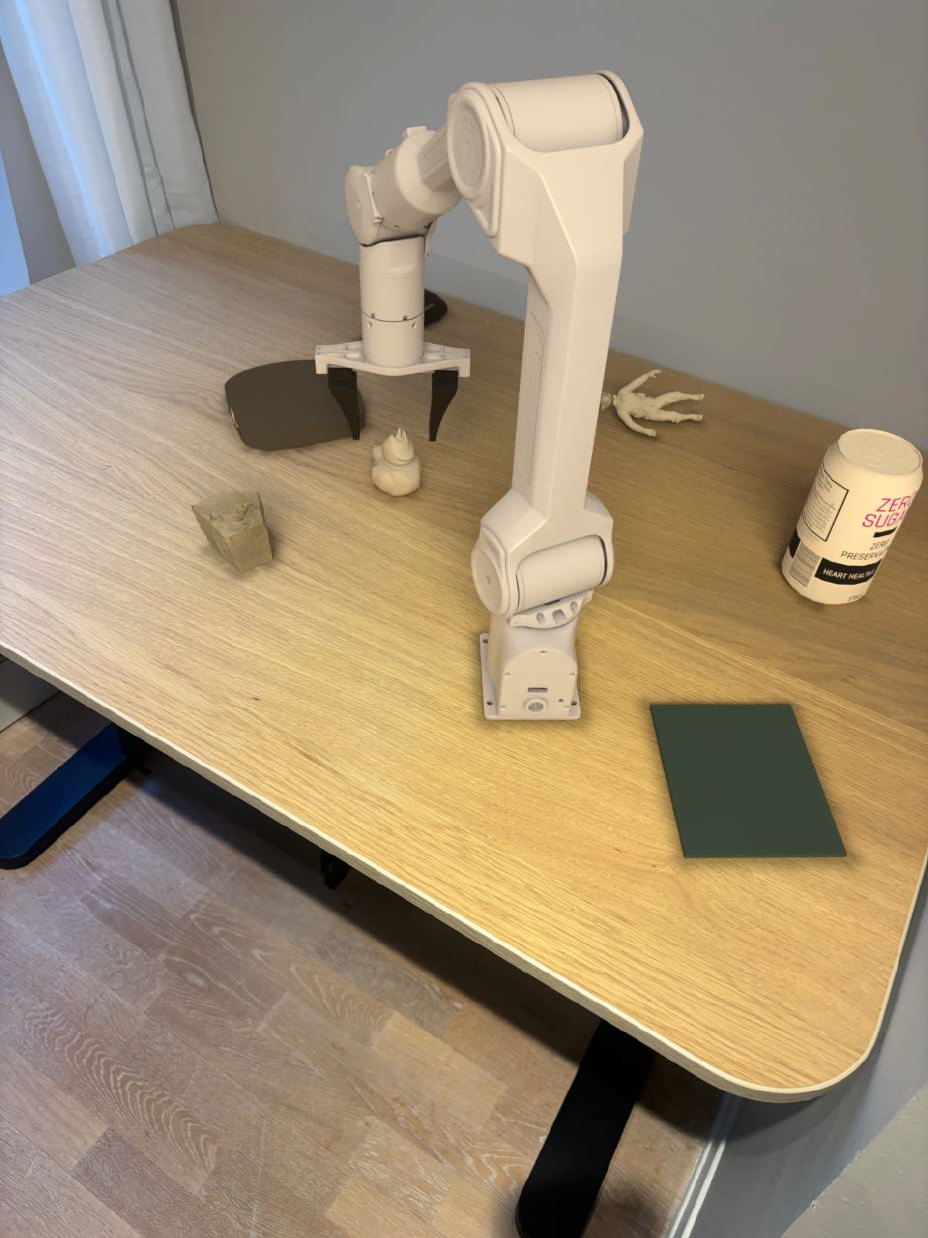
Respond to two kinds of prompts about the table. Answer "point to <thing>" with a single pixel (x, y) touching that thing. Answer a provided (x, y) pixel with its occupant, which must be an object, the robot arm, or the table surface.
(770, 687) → the table surface
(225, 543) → the mineral specimen
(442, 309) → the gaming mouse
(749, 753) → the mat
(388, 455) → the cream rounded figure
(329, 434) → the media streaming box
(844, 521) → the supplement can
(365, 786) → the table surface
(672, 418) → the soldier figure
